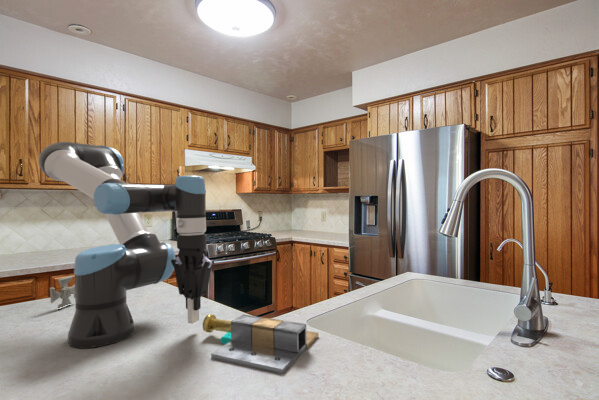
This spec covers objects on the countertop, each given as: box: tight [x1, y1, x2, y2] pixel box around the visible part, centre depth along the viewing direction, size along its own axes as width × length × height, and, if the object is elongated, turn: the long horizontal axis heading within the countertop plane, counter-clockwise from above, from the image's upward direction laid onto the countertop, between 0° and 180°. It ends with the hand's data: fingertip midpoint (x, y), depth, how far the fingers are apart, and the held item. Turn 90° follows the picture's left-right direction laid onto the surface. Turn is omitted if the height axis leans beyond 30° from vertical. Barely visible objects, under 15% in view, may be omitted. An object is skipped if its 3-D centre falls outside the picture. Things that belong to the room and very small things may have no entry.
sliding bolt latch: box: [210, 314, 319, 375], centre depth 82 cm, size 18×20×6 cm
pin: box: [202, 313, 232, 334], centre depth 85 cm, size 20×4×4 cm, turn 66°
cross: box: [49, 275, 75, 308], centre depth 114 cm, size 10×3×10 cm, turn 166°
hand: (193, 321), depth 91 cm, fingers closed
